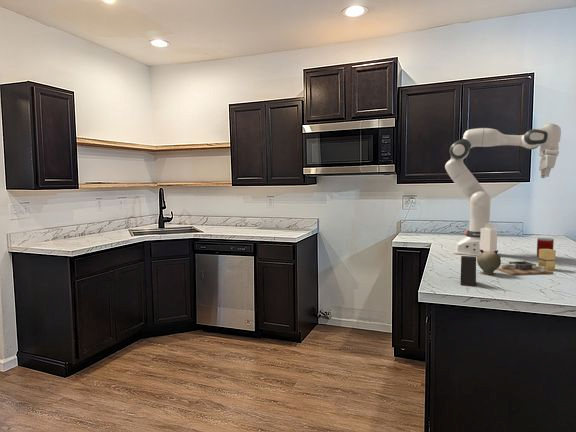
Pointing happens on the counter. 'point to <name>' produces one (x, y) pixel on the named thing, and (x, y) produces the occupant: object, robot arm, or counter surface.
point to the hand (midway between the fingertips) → (544, 177)
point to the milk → (488, 238)
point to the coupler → (547, 258)
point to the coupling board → (522, 268)
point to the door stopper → (468, 270)
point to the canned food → (544, 244)
